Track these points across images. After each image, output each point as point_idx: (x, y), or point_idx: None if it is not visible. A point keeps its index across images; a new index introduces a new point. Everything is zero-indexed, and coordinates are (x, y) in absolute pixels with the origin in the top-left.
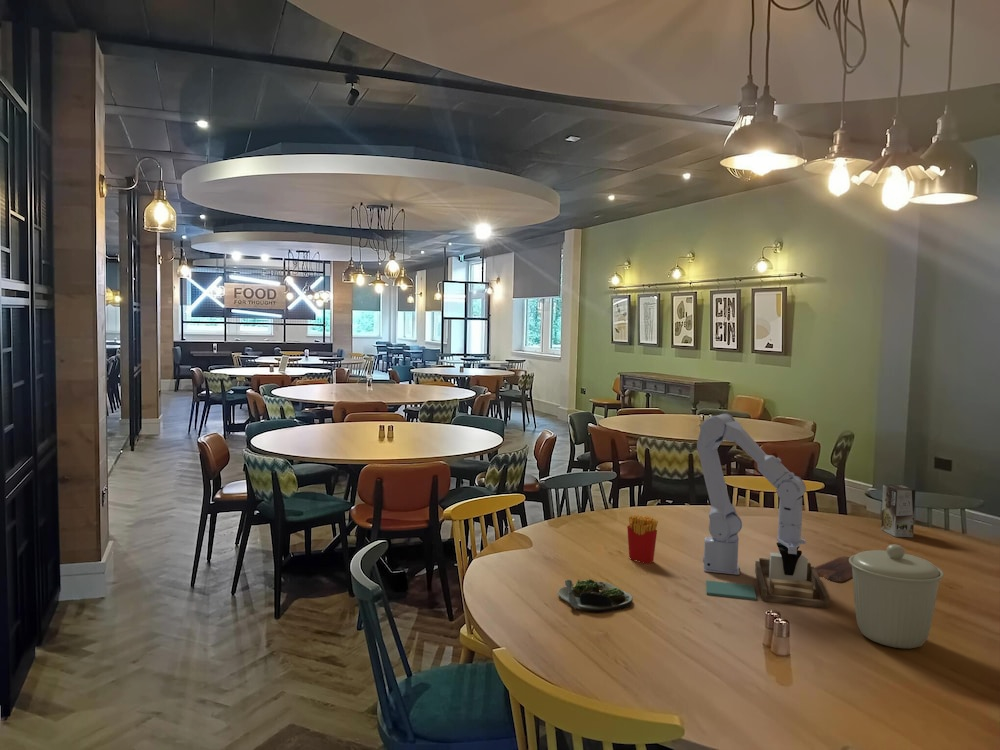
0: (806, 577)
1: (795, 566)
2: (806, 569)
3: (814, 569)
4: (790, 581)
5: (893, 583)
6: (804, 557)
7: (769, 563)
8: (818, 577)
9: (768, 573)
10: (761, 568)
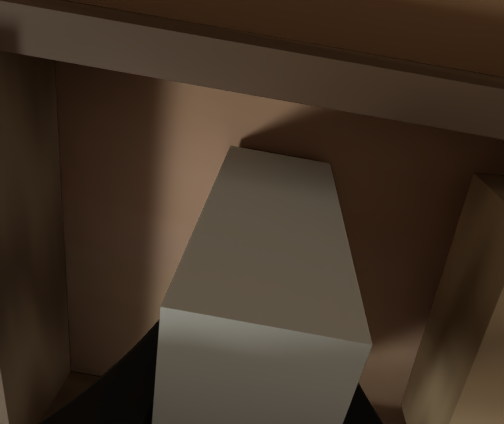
0: (335, 202)
1: (364, 395)
2: (349, 253)
3: (40, 19)
4: (498, 390)
5: None
6: (261, 356)
7: (23, 387)
8: (345, 72)
9: (66, 331)
10: (53, 390)
